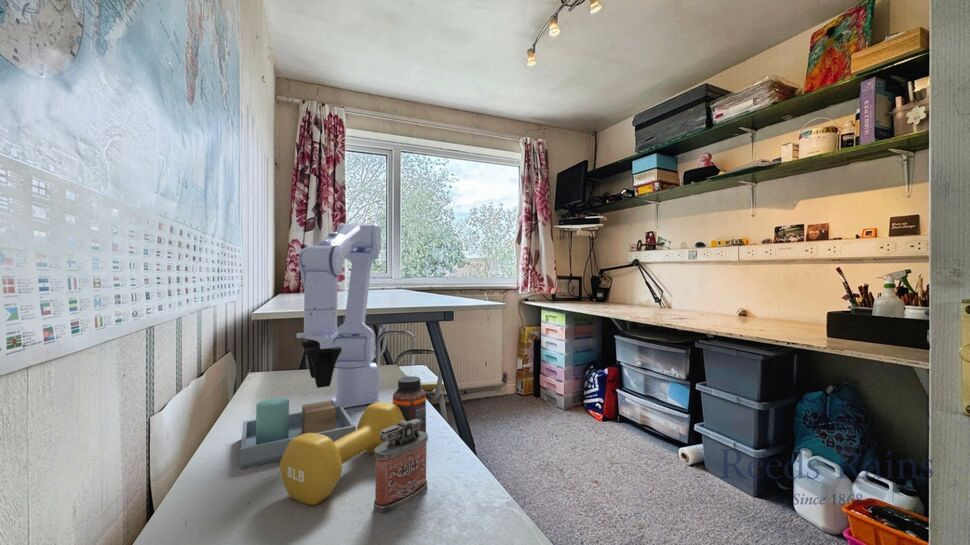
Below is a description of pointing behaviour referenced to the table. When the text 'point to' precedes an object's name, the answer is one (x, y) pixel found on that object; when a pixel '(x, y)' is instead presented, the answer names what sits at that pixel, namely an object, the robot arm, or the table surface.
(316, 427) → the cube
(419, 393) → the supplement bottle
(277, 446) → the tote
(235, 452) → the table surface
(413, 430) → the lighter
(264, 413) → the teal cylinder
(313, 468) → the dumbbell
